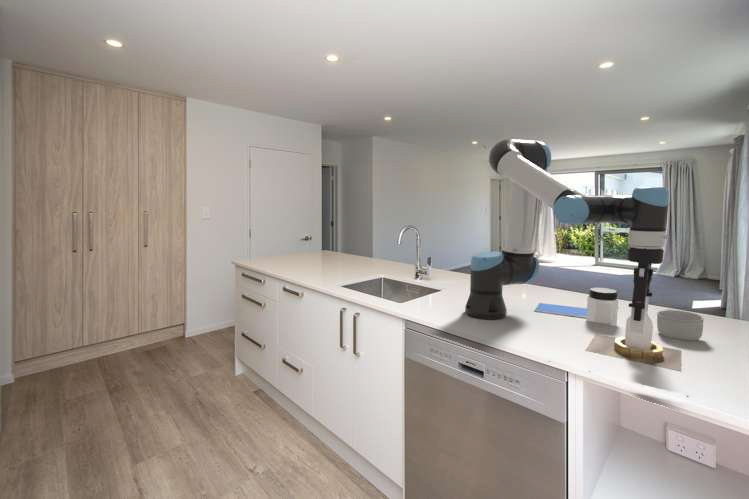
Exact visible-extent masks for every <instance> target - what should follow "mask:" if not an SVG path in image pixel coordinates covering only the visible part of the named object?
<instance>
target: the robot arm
mask: <svg viewBox="0 0 749 499" xmlns="http://www.w3.org/2000/svg"><path fill="white" fill-rule="evenodd" d="M488 163H489V165H490V167H491V170H492V171H494V172H495V173H496V174H498V175H499V176H500V177H502V178H508V180H510V182H511V189H510V191H511V192H510V202H509V211H508V212H509V213H508V222H507V234H506V236H507V237H506V245H504V246H503V247H502V248H501V252H500V251H483V252H479V253H475V254H474V255H472V257H471V258H470V264H469V265H470V267H469V268H470V280H469V281H470V283H469V284H470V285H469V286H470V289H469V291H470V292H469V295H468V298H467V301H466V304H465V306H464V308H465V310H464V311H465V312H464V313H465V314H466V316H469V317H471V318H476V319H481V320H500V319H503V318H507V311H508V310H507V306H506V303H505V300H504V297H503V286H511V285H512V286H513V285H523V284H527V283H530V282H532V281H533V280H535V279H536V278H537V276H538V275H539V271H540V262H539V261H538V260H539V259H538V257H537V256H536V254H534V253H535V251H534V249H533V248H532V247H531V242H532V232H533V225H534V224H533V223H534V215H535V205H536V198H537V199H538V200H540V202H542V203H543V204H545V205H546V206H547V207H549V208H550V209H552V210H553V211H552V212H553V215H554V217H555V220H556V221H558V222H560V223H561V224H565V225H580V224H604V223H605V224H606V223H611V224H612V223H615V224H616V223H617V224H619V223H620V224H629V231H628V240H627V244H628V245H629V246H628V248H627V257H626V258H627V261H629V262H632V263H637V267H634V269H633V291H632V300H631V303H628V307H629V308H631V312H630V313H631V314H630V316H631V321H630V332H635V333H641V334H643V327H644V316H645V311H646V312H647V313H648V312H649V299H650V297H653V292H650V291H651V290H650V286H651V282H652V279H653V275H654V268H652V265H654V264H655V265H658V264H661V263H663V262H664V253H665V250H664V249H663V247H665V241H666V239H669V235H667V234H666V231H667V230H666V229H667V228H666V227H667V220H668V209H669V206H670V201H669V199H670V197H669V196H670V195H669V194H670V191H669V189H668V188H667V187H665V186H651V187H649V186H648V187H646V186H645V187H644V186H643V187H635V188H634V189H633V190H632V194H631V195H630V194H629V195H584V194H582V193H581V192H579V191H577V190H576V189H574V188H573V187H571V186H569V185H568V184H566V183H565V182H563V181H561V180H559V179H558V178H556V177H555V176H554V175H552V174H550V173H549V172H547V170H548V168H549V167H550V166H551V164H552V154H551V150H550V148H549V147H548V146H547V144H546V143H544V142H542V141H540V140H534V139H528V140H527V139H513V138H507V139H503V140H500V141H498V142H496V143H495V144H494V145H493V147H492V148H491V150H490V151H489V156H488Z"/></svg>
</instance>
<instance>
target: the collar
mask: <svg viewBox="0 0 749 499" xmlns="http://www.w3.org/2000/svg"><path fill="white" fill-rule="evenodd" d="M615 338H616V339H615V342H614V349H616V350H617V351H618V352H620V353H622V354H625V355H627V356H631V357H635V358H640V359H651V360H656V359H660V358H662V353H663V347H664V346H661V344H659V343H657V342H654V341H651V349H650V350H640V349H635V348H631V347H628V346H625V336H620V337H615Z"/></svg>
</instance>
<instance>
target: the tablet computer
mask: <svg viewBox="0 0 749 499" xmlns="http://www.w3.org/2000/svg"><path fill="white" fill-rule="evenodd" d="M533 312H536V313H544V314H551V315H559V316H566V317H575V318H579V319H580V318H583V319H586V316H587V307H577V306H569V305H559V304H550V303H543V302H539V303H537V305H536V307H535V308H534V309H533Z"/></svg>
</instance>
